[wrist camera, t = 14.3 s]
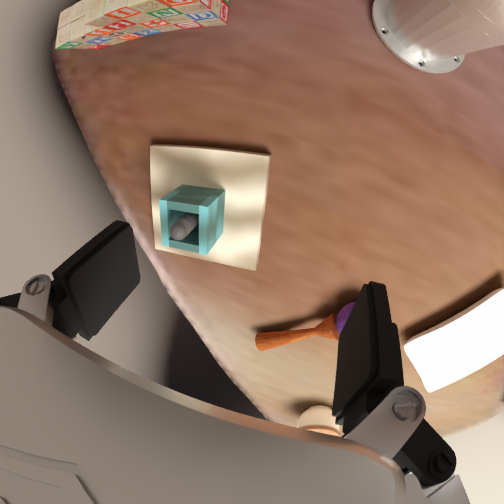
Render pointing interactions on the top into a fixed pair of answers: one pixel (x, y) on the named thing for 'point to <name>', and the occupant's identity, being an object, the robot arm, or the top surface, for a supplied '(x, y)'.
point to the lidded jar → (318, 420)
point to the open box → (198, 202)
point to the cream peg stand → (218, 177)
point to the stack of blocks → (133, 20)
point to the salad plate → (459, 343)
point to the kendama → (306, 331)
